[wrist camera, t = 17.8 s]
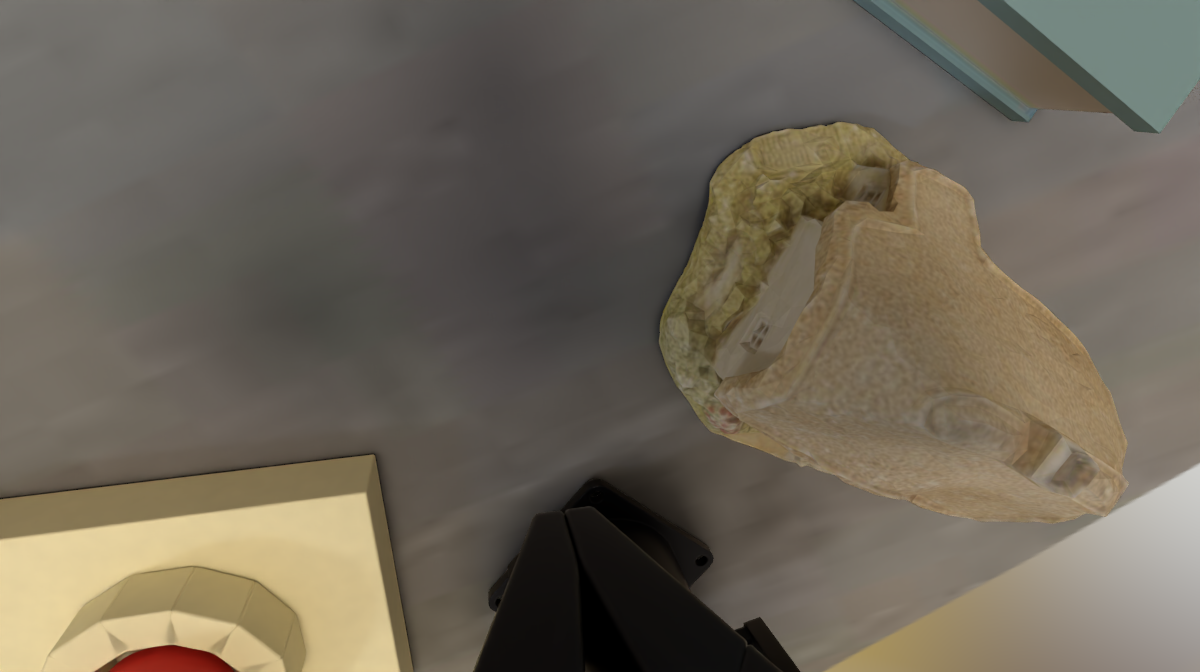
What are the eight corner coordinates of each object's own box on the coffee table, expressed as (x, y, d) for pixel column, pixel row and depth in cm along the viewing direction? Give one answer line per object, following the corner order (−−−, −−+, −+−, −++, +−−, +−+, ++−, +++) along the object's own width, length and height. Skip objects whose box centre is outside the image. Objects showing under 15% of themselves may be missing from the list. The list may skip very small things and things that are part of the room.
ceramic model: (589, 367, 22) (682, 578, 13) (778, 60, 19) (1065, 48, 10) (875, 504, 27) (1089, 725, 18) (1056, 273, 24) (1415, 394, 15)
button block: (374, 453, 21) (358, 531, 18) (413, 672, 25) (406, 772, 22) (-43, 503, 19) (-161, 603, 16) (68, 733, 23) (-5, 857, 19)
